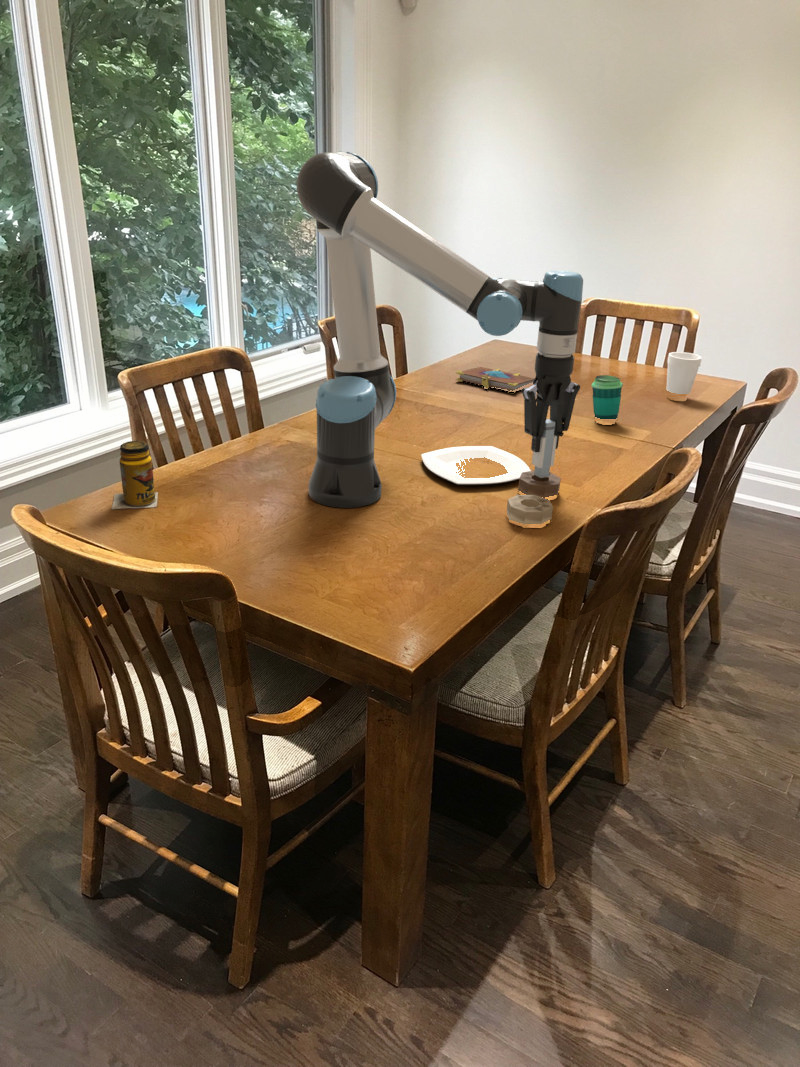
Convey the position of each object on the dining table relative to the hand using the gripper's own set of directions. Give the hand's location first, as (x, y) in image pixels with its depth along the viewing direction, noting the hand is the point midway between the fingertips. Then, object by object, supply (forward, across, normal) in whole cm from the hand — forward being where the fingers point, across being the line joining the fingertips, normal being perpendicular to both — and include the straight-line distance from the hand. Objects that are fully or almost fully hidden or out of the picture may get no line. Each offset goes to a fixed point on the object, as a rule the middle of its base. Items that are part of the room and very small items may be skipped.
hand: (542, 464), depth 172 cm
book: (+7, +40, +78) cm, 88 cm away
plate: (+7, -5, +17) cm, 19 cm away
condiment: (+6, -78, +29) cm, 84 cm away
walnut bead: (+7, 0, 0) cm, 7 cm away
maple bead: (+7, -10, -10) cm, 16 cm away
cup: (+7, +47, +34) cm, 58 cm away
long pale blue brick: (+2, 0, 0) cm, 2 cm away
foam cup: (+7, +84, +43) cm, 95 cm away
